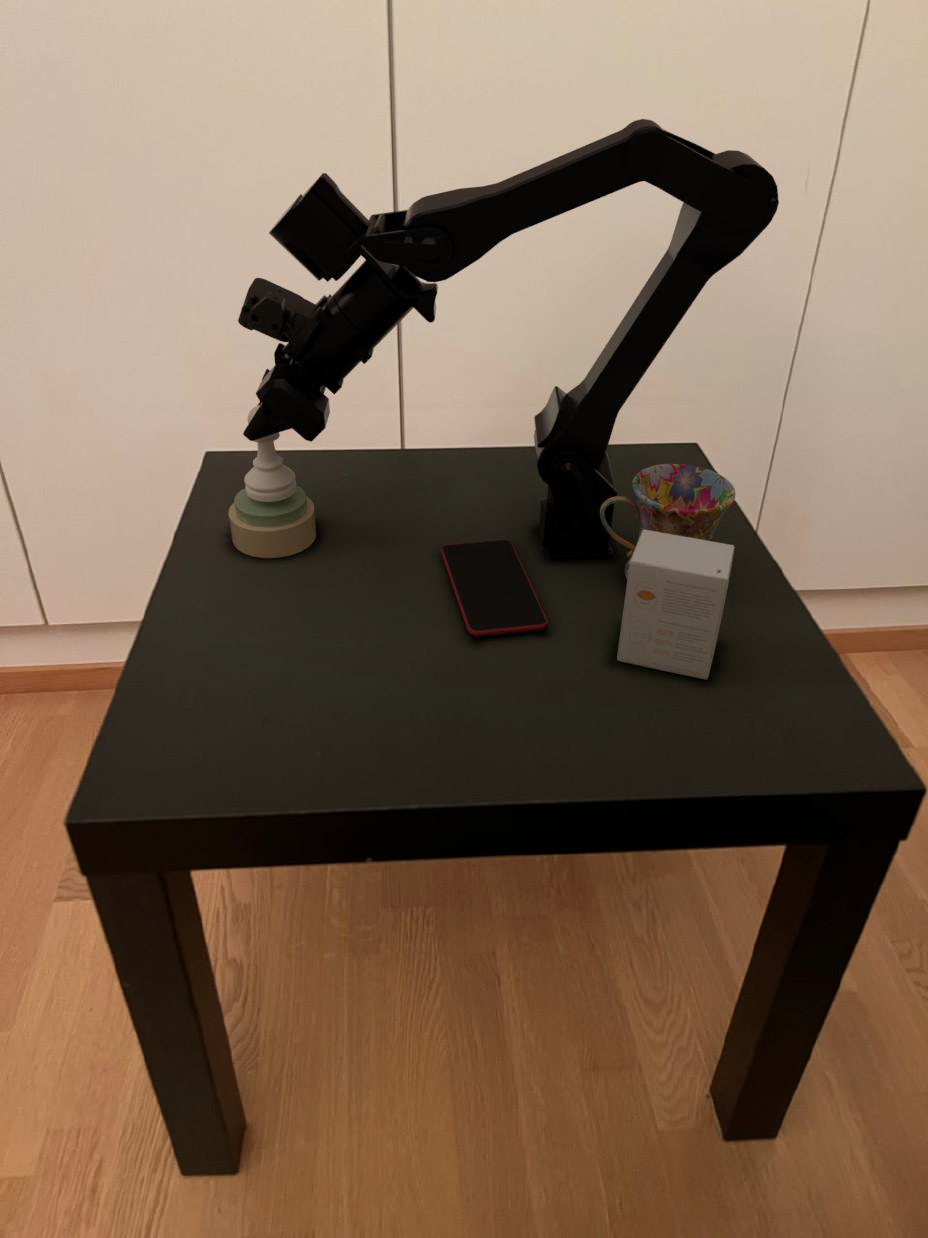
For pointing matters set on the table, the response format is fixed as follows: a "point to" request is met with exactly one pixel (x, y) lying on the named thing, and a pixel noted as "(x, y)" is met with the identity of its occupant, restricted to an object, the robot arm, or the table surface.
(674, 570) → the small box
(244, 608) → the table surface
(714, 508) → the mug
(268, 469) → the chess pawn
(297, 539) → the push button
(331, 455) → the table surface
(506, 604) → the smartphone
